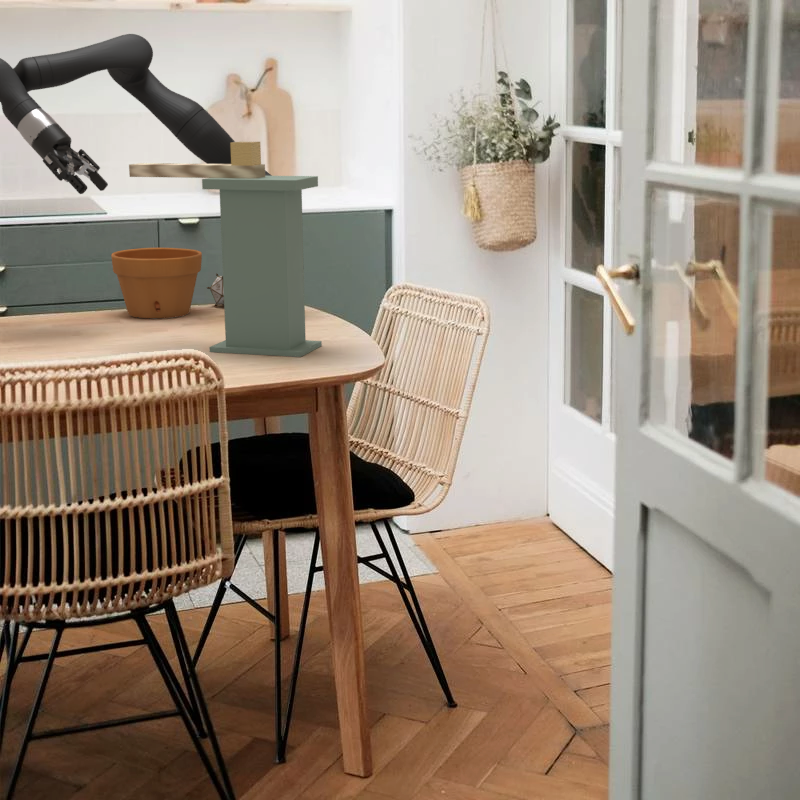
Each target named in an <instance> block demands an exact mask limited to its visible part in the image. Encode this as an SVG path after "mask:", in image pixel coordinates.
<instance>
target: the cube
mask: <svg viewBox="0 0 800 800" xmlns="http://www.w3.org/2000/svg"><path fill="white" fill-rule="evenodd" d="M230 144H231V165H237V166H253V165H260V164H262V156H261V155H262V154H261V151H262V150H261V141H235V142H231V143H230Z"/></svg>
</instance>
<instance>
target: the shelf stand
mask: <svg viewBox="0 0 800 800" xmlns="http://www.w3.org/2000/svg"><path fill="white" fill-rule="evenodd" d="M201 185H202V190H219V209H220V211H219V212H220V213H219V214H220V233H221V260H222V276H223V287H224V304H223V306H224V307H223V308H224V312H223V313H224V328H225V329H224V330H225V331H224V333H225V336H224V337H225V339H224V340H223V341H221V342H217V343H216V344H214V345H211V346H208V347H209V352H210V353H222V354H223V353H224V354H225V353H226V354H240V355H255V356H256V355H259V356H276V357H277V356H279V357H295V358H301V357H303V356H306V355H307V354H309V353H310V352H313V351H314V350H317V349H318V348H321V347H322V344H323V343H322V340H312V339H311V340H310V339H306V310H305V308H306V307H305V303H306V302H305V301H306V300H305V272H304V271H305V268H304V265H305V264H304V235H303V234H304V233H303V232H304V231H303V229H304V228H303V226H304V225H303V198H302V197H303V196H302V195H303V192H302V191H303V190H306V189H311V188H315V187H318V186H319V176H318V175H315V176H314V175H313V176H312V175H272V176H265V177H261V178H201Z"/></svg>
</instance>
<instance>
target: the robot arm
mask: <svg viewBox="0 0 800 800" xmlns="http://www.w3.org/2000/svg"><path fill="white" fill-rule="evenodd" d="M153 50H154V49H153V47H152V45H151V43H150V42H149V41H148V40H147V39H146V38H144V37H143V35H142V36H141V35H140V34H139V35H138V34H135V33H128V34H127V33H126V34H122V35H119V36H115V37H112V38H109V39H106V40H104V41H100V42H96V43H93V44H90V45H87V46H83V47H78V48H75V49H71V50H66V51H61V52H56V53H51V54H43V55H42V54H41V55H35V56H29V57H28V56H27V57H25V58H22V59H19V62H17V64H16V65H15V66H14V67H12V66H11V65H10V63H8V62H7V61H6V60H4V59H2V57H1V58H0V104H1V109H2V113H3V115H4V116H5V118H6V119H7V120H8V122H10V123H11V125H13V127H14V128H15V129H16V130H17V131H18V132H19V134H20V135H21V136H22V138H23V139H24V141H25V142H26V143H27V144H28V145H29V146H30V147H31V148H32V149H33V151H34V152H35V153H37V154H38V156H39V157H40V158H41V159H42V162H43V164H44V165H45V166H46V167H47V169H49V170H50V172H51V173H52V174H53V175H54V176H55V177H56V179H57V180H59V181H60V182H62V181H63V180H64V182H65V183H69V184H70V185H71V186H72V187H73V188H74V190H75V191H76V192H77V193H78V194H79V195H83V194H84V193H85V192H86V191H87V190H88V186H87V185H86V184H85V182H84V181H83V180H82V179H81V177H79V176H85V178H88V179H89V180H90V182H92V184H93V185H94V187H95V186H96V188H97V189H98V190H99V191H105V189H106V188H107V187H108V182H107V181H106V180H105V178H103V177H102V176H101V174H100V173H99V170H100V169H101V167H100V166H99V165H98V164H97V162H95V161H94V160H93V159H92V157H91V156H90V155H89V154H88V153H87V152H86V151H85V150H83V149H82V148H81V149H79V151H76V150H74V149H73V148H72V147H71V146H72V145H71V144H72V138H71V136H69V134H68V133H67V132H66V131H65V130H64V129H63V128H62V127H61V126H60V125H59V123H57V121H56V120H55V119H54V118H53V117H52V116H51V115H50V114H49V113H48V112H46V111H45V110H44V109H43V108H42V107H41V106H40V104H38V103H37V102H36V100H35V99H34V98H33V97H32V96H31V95H30V94H29V92H31V91H37V90H44V89H50V88H56V87H60V86H64V85H67V84H70V83H71V82H74V81H76V80H79V79H81V78H83V77H86V76H88V75H90V74H91V75H92V74H94V73H97V72H101V71H105V70H107V72H108V75H109V76H110V77H111V79H112V80H113V81H114V82H115V83H116V84H117V85H119V86H120V87H121V88H122V89H124V91H126V92H127V93H129V95H130V96H132V97H133V98H135V100H137V101H138V102H139V103H141V105H143V106H144V107H145V108H147V110H148V111H150V113H151V114H153V116H154V117H155V118H157V120H159V122H160V123H161V124H163V126H164V127H166V128H167V129H168V131H170V132H171V133H172V135H173V136H174V137H175V138H176V139H177V140H178V141H179V142H180V143H181V144H182V145H183V146H184V147H185V148H186V149H187V150H188V151H190V153H192V154H193V155H194V156H196V157H197V158H198V159H200V160H201V161H203V162H204V164H231V144H230V143H231V142H236V141H235V140H234V139H233V138H232V136H231V135H230V134H229V133H228V132H227V131H226V130H225V129H224V128H223V126H221V125H220V123H219V122H218V121H217V120H216V119H215V118H214V117H213V116H212V115H211V114H210V113H209V112H208V111H207V109H205V108H204V107H203V106H202V105H200V103H198V102H197V101H195V100H193V99H191V98H189V97H187V96H185V95H182V94H180V93H177V92H175V91H173V90H171V89H170V88H168V87H167V86H166V85H164V84H163V83H162V81H160V80H159V79H158V78H157V77H156V76H155V75H154V73H152V71H151V70H150V69H149V67H150V65H151V63H152V60H153V56H154V51H153ZM265 176H273V175H272V174H271V173H269V172H268V171H266V170H265Z"/></svg>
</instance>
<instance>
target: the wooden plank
mask: <svg viewBox="0 0 800 800" xmlns="http://www.w3.org/2000/svg"><path fill="white" fill-rule="evenodd" d="M128 170H129V171H128V172H129V177H130V178H181V179H182V178H186V179H188V178H191V179H193V178H194V179H206V178H261V177H265V171H266V163H261V164H260V165H253V166H237V165H231V164H207V163H179V162H178V163H174V162H173V163H170V162H168V163H166V162H163V163H162V162H161V163H160V162H155V163H153V162H150V163H149V162H148V163H147V162H146V163H145V162H138V163H131V164H128Z"/></svg>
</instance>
